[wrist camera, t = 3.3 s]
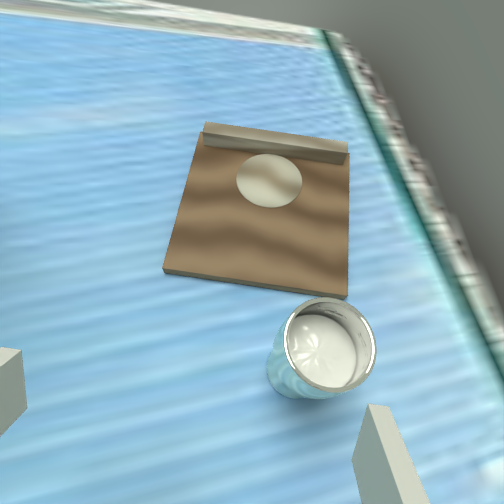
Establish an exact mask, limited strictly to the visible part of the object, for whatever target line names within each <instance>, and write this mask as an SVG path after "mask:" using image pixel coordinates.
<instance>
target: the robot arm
mask: <svg viewBox="0 0 504 504" xmlns="http://www.w3.org/2000/svg"><path fill="white" fill-rule="evenodd" d="M26 409H27V400H26V390H25V380H24V370H23V360H22V350H18V349H12V348H5V347H1V348H0V436H1V435H2V434H3V433H4V432H5V431H6V430H7V429H8V428H9V427H10V426H11V425H12V424H13V423H14V422H15V421H16V420H17V419H18V418H19V416H20V415H21V414H22V413H23V412H24V411H25V410H26ZM352 464H353V468H354V472H355V476H356V481H357V485H358V489H359V493H360V497H361V502H362V504H430V502H429V500H428V497H427V495H426V493H425V490H424V488H423V486H422V483H421V481H420V479H419V476H418V474H417V472H416V469H415V467H414V465H413V462H412V460H411V458H410V455H409V453H408V451H407V448H406V446H405V444H404V441H403V439H402V437H401V434H400V432H399V430H398V427H397V425H396V423H395V420H394V418H393V416H392V413H391V411H390V409H389V407H387V406H381V405H374V404H368V405H367V408H366V412H365V415H364V419H363V422H362V426H361V429H360V432H359V436H358V439H357V443H356V446H355V450H354V453H353V457H352Z"/></svg>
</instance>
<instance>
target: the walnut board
mask: <svg viewBox="0 0 504 504" xmlns="http://www.w3.org/2000/svg"><path fill="white" fill-rule="evenodd" d="M348 229H349V153H348V142H343V141H337V140H330V139H323V138H316V137H309V136H302V135H295V134H288V133H281V132H274V131H267V130H260V129H253V128H246V127H240V126H233V125H226V124H219V123H212V122H205V125H204V128H203V132H200V135H199V139H198V142H197V146H196V149H195V153H194V156H193V160H192V164H191V167H190V171H189V174H188V178H187V181H186V185H185V188H184V192H183V196H182V199H181V203H180V206H179V210H178V213H177V217H176V221H175V224H174V228H173V231H172V235H171V238H170V242H169V246H168V249H167V253H166V256H165V260H164V263H163V267H162V269H163V271H164V273H169V274H176V275H183V276H189V277H196V278H203V279H209V280H216V281H223V282H229V283H236V284H243V285H249V286H256V287H263V288H269V289H276V290H283V291H289V292H296V293H303V294H309V295H316V296H323V297H329V298H336V299H343V300H344V299H345V298H346V297H347V296H348Z"/></svg>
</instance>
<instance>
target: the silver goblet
mask: <svg viewBox="0 0 504 504" xmlns="http://www.w3.org/2000/svg"><path fill="white" fill-rule="evenodd" d="M375 360H376V341H375V337H374V334H373V331H372V329H371V327H370V325H369V323H368V321H367V320H366V319H365V317H364V316H363V315H362V314H361V313H360V312H359V311H358V310H357V309H356V308H354V307H353V306H351V305H350V304H348V303H346V302H344V301H342V300H339V299H335V298H329V297H321V298H315V299H311V300H308V301H306V302H304V303H303V304H301V305H300V306H298V307H297V308H296V309H295V310H294V311H293V312H292V314H291V315H290V316H289V317H288V318H287V319H286V320H285V321H284V323H283V324H282V325H281V327H280V328H279V330H278V332H277V335H276V337H275V340H274V343H273V350H272V352H271V353H270V355H269V357H268V361H267V375H268V378H269V381H270V383H271V384H272V386H273V387H274V389H275V390H276V391H277V392H279V393H280V394H282V395H283V396H285V397H288V398H292V399H299V398H304V397H305V398H309V399H328V398H332V397H335V396H338V395H341V394H343V393H345V392H347V391H349V390H352V389H354V388H356V387H357V386H359V385H360V384H362V383H363V382H364V381H365V380H366V379H367V377H368V376H369V375H370V373H371V371H372V369H373V367H374V364H375Z"/></svg>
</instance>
